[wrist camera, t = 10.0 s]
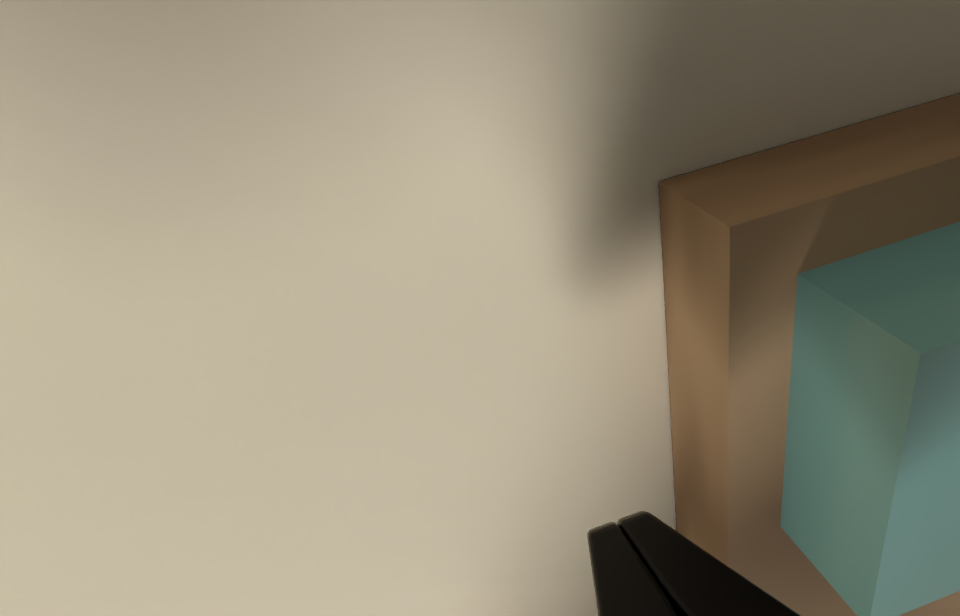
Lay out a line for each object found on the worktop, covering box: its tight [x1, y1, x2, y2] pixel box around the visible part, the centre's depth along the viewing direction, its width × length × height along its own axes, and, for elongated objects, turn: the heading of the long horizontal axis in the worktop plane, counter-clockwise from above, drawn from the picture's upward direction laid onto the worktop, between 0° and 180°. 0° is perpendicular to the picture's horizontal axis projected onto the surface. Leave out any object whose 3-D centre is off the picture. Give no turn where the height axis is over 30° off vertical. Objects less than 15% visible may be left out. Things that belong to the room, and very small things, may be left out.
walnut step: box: [659, 93, 960, 616], centre depth 13 cm, size 14×8×2 cm, turn 11°
